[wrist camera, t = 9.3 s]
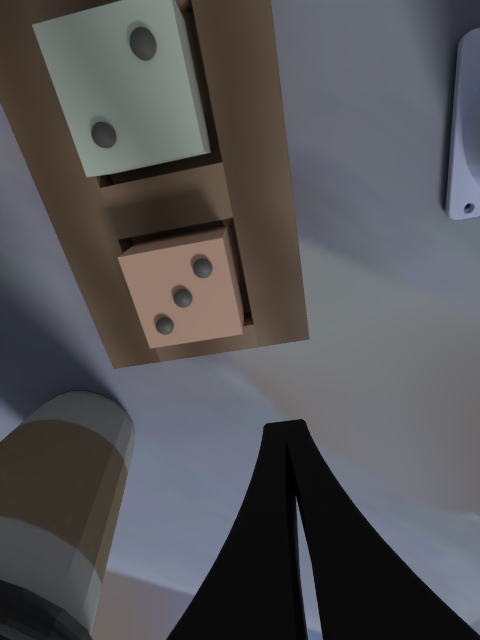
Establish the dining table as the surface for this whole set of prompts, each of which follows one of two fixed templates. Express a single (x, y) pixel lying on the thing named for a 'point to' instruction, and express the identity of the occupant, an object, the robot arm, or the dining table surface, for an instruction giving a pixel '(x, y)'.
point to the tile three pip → (185, 287)
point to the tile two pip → (126, 84)
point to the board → (170, 177)
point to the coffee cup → (60, 514)
